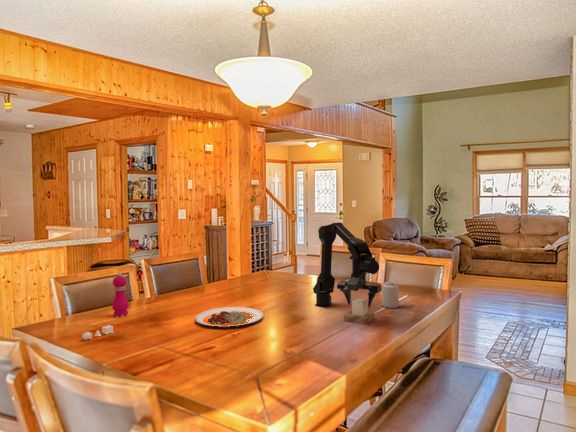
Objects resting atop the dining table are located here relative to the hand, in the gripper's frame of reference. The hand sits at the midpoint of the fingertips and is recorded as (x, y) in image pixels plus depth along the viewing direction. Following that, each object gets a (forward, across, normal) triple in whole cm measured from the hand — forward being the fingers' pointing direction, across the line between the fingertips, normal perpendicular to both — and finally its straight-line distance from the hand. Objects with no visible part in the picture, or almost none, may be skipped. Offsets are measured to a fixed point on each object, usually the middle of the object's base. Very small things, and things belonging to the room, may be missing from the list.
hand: (359, 306), depth 196 cm
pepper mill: (+6, -100, -45) cm, 110 cm away
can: (+6, +5, +27) cm, 28 cm away
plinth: (+7, 0, 0) cm, 7 cm away
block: (+4, 0, 0) cm, 4 cm away
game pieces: (+6, -82, -70) cm, 108 cm away
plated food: (+6, -51, -26) cm, 58 cm away
